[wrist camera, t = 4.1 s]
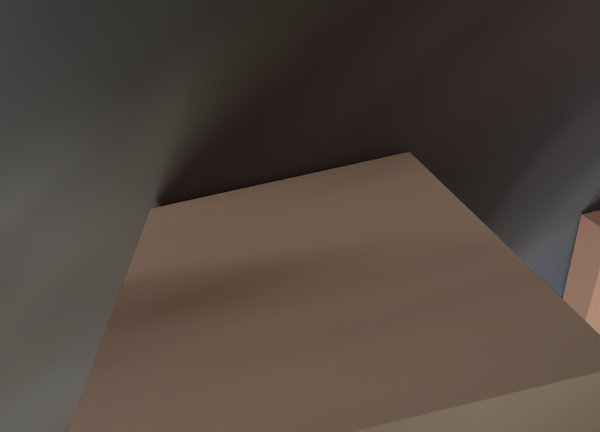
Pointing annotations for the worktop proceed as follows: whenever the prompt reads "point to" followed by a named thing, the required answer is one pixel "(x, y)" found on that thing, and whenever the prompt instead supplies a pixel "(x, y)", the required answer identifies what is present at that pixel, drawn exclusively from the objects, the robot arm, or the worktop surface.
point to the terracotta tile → (586, 271)
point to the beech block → (338, 317)
